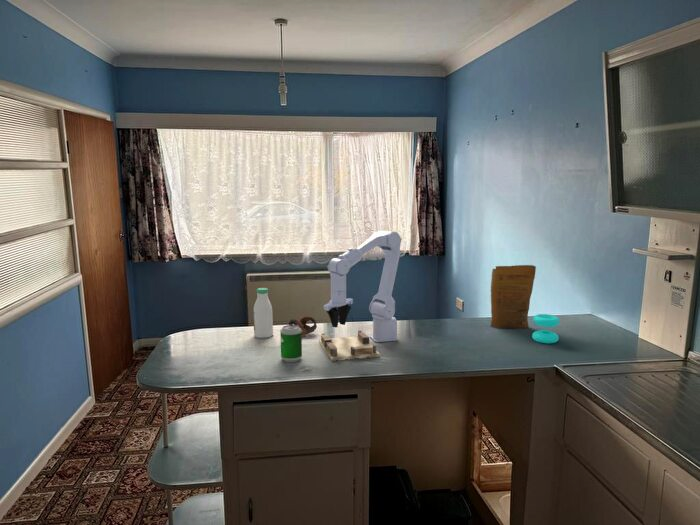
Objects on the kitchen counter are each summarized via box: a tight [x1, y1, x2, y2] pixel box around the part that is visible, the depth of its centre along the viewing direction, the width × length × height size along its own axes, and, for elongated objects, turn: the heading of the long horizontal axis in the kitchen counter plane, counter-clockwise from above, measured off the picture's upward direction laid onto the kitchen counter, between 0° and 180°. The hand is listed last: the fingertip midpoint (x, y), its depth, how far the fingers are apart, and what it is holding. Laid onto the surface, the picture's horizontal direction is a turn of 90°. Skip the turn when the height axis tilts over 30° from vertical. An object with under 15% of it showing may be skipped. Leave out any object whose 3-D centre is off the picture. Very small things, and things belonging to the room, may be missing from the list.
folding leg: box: [320, 334, 332, 347], centre depth 191 cm, size 8×3×3 cm, turn 15°
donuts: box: [531, 313, 561, 344], centre depth 199 cm, size 10×10×10 cm
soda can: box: [280, 324, 303, 363], centre depth 177 cm, size 8×8×12 cm
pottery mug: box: [288, 315, 318, 337], centre depth 209 cm, size 12×10×8 cm
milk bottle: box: [253, 287, 274, 339], centre depth 204 cm, size 8×8×20 cm
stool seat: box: [318, 330, 381, 362], centre depth 189 cm, size 18×22×4 cm
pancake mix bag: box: [490, 264, 537, 330], centre depth 216 cm, size 7×19×28 cm, turn 86°
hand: (338, 325), depth 187 cm, fingers open, 4 cm apart
